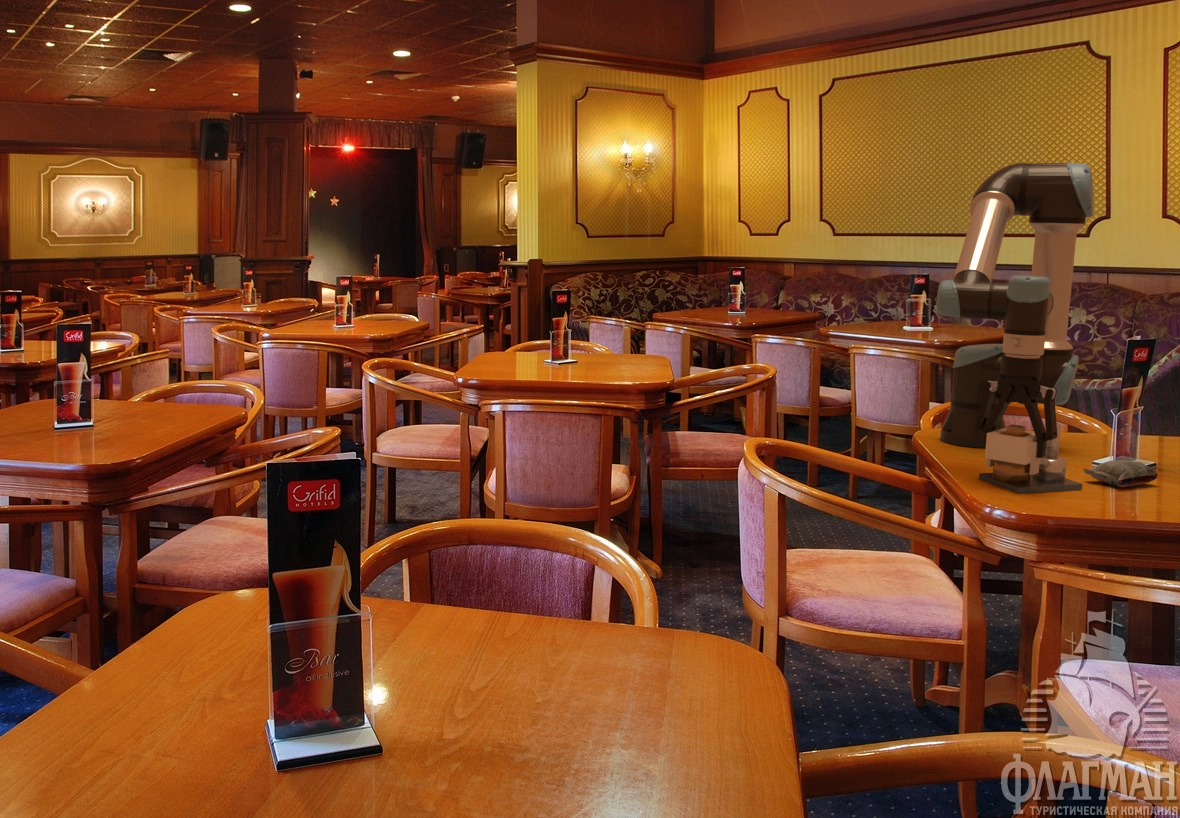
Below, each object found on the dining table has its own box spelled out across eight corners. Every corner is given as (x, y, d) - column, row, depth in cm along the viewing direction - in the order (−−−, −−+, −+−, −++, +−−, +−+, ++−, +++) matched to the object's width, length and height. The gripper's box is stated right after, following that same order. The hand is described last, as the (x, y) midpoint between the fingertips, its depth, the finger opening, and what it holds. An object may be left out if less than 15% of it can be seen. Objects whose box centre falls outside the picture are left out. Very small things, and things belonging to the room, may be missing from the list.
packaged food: (1082, 481, 220) (1084, 458, 219) (1122, 477, 225) (1125, 453, 224) (1119, 492, 212) (1122, 468, 211) (1159, 487, 217) (1162, 463, 217)
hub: (986, 479, 215) (991, 425, 213) (1001, 473, 220) (1005, 421, 218) (1021, 485, 210) (1026, 431, 208) (1035, 479, 215) (1040, 426, 213)
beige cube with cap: (984, 458, 214) (986, 433, 213) (1001, 452, 220) (1003, 428, 219) (1025, 464, 208) (1027, 439, 208) (1041, 458, 214) (1043, 434, 213)
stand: (1036, 472, 221) (1041, 419, 219) (1067, 476, 218) (1072, 423, 216) (1029, 478, 216) (1035, 424, 215) (1062, 482, 213) (1067, 427, 211)
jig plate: (1040, 475, 224) (1041, 469, 224) (1082, 489, 213) (1082, 483, 213) (978, 479, 220) (979, 473, 220) (1017, 493, 209) (1018, 487, 208)
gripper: (962, 351, 215) (953, 463, 219) (1070, 362, 201) (1058, 482, 205) (978, 349, 220) (969, 458, 224) (1084, 359, 206) (1072, 476, 210)
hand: (1011, 469), depth 214 cm, fingers closed on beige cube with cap, 8 cm apart
